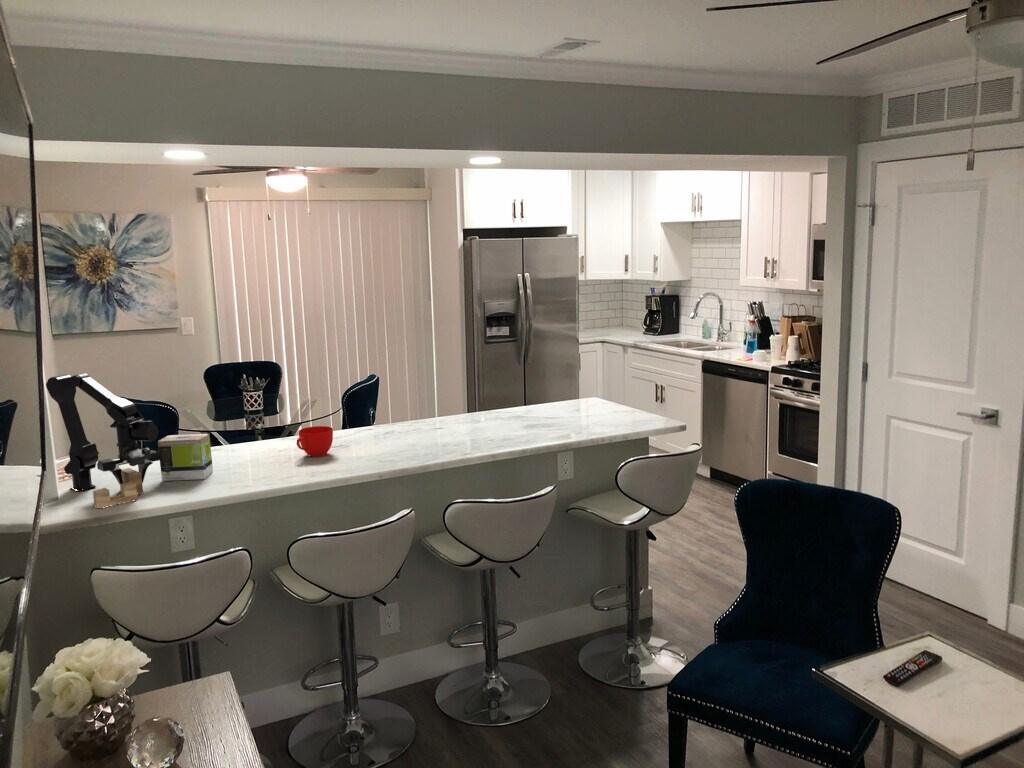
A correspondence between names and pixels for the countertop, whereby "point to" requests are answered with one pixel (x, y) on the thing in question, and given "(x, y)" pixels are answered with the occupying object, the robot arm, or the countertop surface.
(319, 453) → the ceramic cup
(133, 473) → the tan wooden beam
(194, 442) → the tea box
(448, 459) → the countertop surface
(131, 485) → the u-shaped oak block
